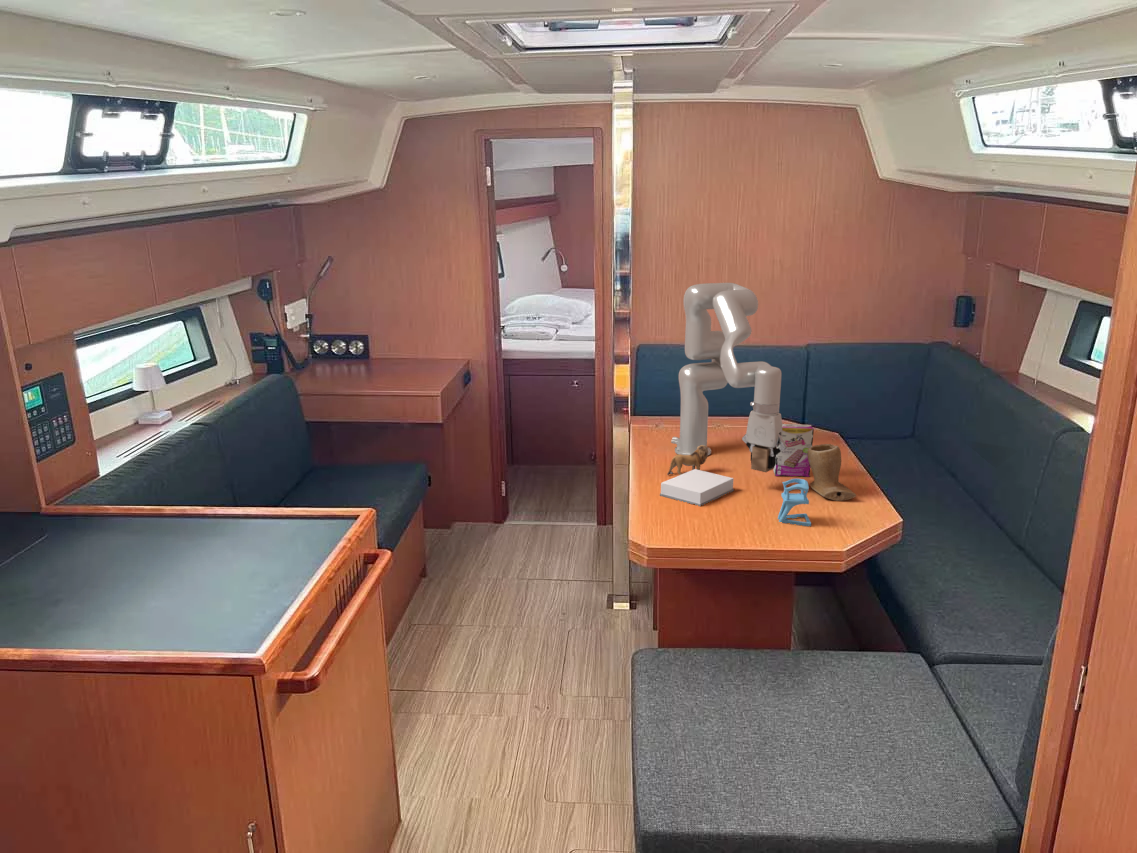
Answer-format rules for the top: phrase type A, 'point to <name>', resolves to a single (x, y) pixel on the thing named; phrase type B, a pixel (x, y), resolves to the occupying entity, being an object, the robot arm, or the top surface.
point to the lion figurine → (690, 459)
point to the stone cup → (827, 472)
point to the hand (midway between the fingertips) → (762, 465)
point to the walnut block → (760, 458)
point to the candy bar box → (794, 451)
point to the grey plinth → (697, 487)
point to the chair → (794, 502)
